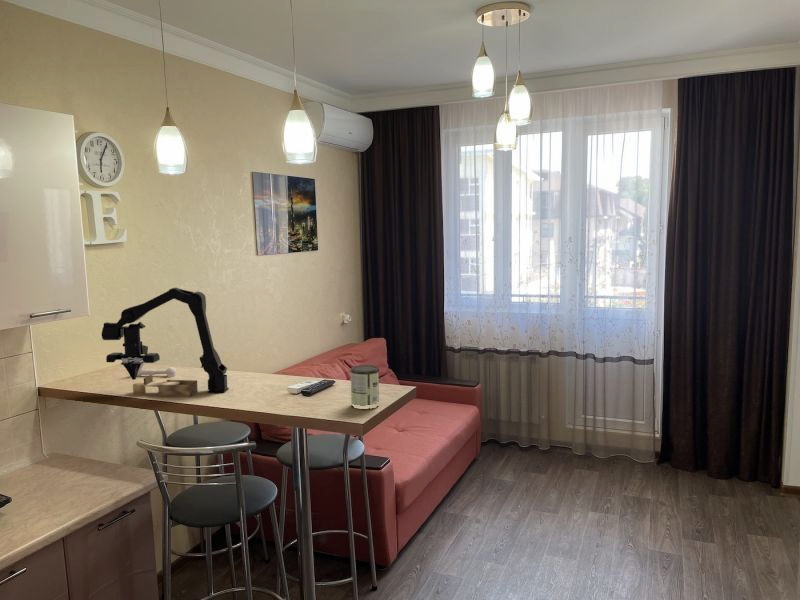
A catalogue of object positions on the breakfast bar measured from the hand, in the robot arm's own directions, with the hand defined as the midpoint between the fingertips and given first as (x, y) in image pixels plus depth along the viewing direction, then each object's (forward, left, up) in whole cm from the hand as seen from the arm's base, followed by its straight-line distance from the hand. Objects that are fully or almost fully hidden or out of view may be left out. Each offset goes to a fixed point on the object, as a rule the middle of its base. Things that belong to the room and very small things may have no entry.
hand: (134, 379), depth 235 cm
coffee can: (-91, +11, -6) cm, 92 cm away
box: (-17, 0, -5) cm, 18 cm away
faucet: (+5, -27, -6) cm, 28 cm away
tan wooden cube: (-2, 0, -5) cm, 6 cm away
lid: (-11, 0, -2) cm, 11 cm away
